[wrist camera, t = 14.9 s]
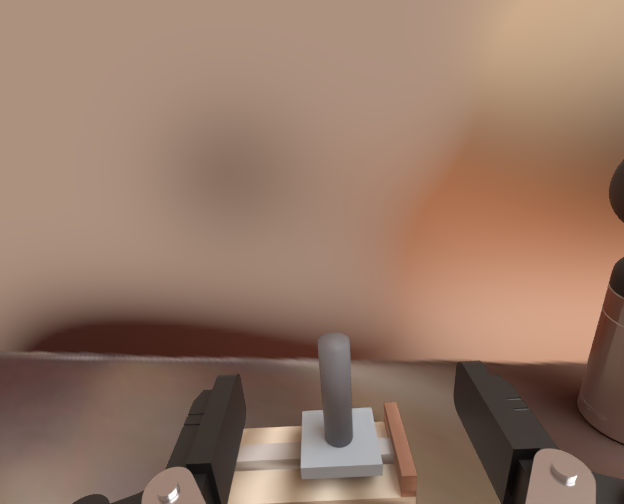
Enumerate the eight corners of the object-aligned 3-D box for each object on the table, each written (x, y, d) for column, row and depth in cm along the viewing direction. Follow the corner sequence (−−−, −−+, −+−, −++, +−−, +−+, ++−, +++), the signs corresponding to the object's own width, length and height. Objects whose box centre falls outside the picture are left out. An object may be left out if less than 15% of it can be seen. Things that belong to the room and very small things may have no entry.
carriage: (371, 427, 41) (370, 318, 36) (382, 485, 35) (383, 364, 29) (304, 430, 42) (293, 323, 36) (303, 489, 35) (288, 369, 30)
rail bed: (395, 433, 43) (395, 402, 41) (415, 510, 35) (417, 475, 33) (219, 441, 44) (212, 411, 42) (197, 519, 35) (187, 486, 33)
